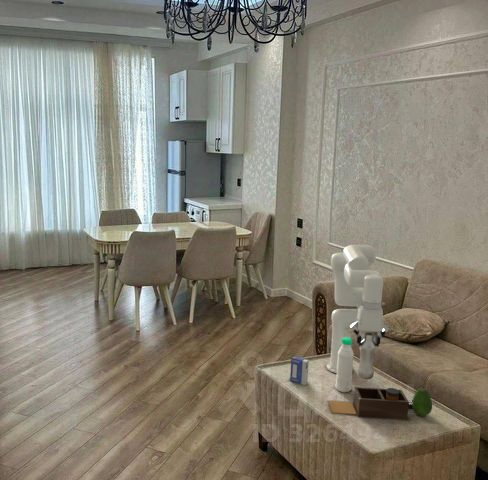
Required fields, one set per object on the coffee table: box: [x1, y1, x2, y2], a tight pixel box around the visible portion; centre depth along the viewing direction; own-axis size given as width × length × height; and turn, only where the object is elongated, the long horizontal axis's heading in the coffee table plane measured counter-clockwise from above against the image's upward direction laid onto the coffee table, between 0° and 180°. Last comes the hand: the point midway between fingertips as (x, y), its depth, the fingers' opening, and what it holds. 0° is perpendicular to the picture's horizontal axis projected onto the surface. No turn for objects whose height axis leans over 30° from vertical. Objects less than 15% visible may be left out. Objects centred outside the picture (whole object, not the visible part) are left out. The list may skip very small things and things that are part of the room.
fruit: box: [411, 387, 433, 417], centre depth 228 cm, size 8×8×12 cm
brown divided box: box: [352, 386, 410, 420], centre depth 231 cm, size 11×20×8 cm, turn 84°
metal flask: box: [357, 331, 377, 380], centre depth 228 cm, size 6×7×20 cm
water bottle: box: [334, 337, 355, 393], centre depth 249 cm, size 7×7×25 cm
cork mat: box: [328, 400, 357, 415], centre depth 234 cm, size 10×10×1 cm
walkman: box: [289, 355, 310, 386], centre depth 257 cm, size 8×3×12 cm, turn 54°
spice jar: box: [385, 387, 400, 400], centre depth 230 cm, size 5×5×10 cm
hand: (367, 344), depth 227 cm, fingers closed on metal flask, 6 cm apart
